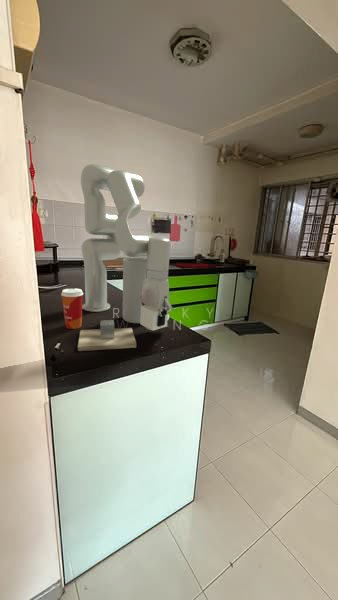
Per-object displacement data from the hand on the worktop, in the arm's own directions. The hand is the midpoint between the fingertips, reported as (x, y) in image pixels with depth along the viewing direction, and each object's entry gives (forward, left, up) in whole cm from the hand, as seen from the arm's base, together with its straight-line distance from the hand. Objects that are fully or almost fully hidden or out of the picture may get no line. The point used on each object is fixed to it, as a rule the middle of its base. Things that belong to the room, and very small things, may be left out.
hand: (153, 321), depth 93 cm
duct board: (+4, -17, -5) cm, 18 cm away
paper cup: (-10, -29, -5) cm, 31 cm away
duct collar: (-1, +1, -1) cm, 2 cm away
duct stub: (+4, -17, -3) cm, 17 cm away
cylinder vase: (-16, -4, -5) cm, 18 cm away
